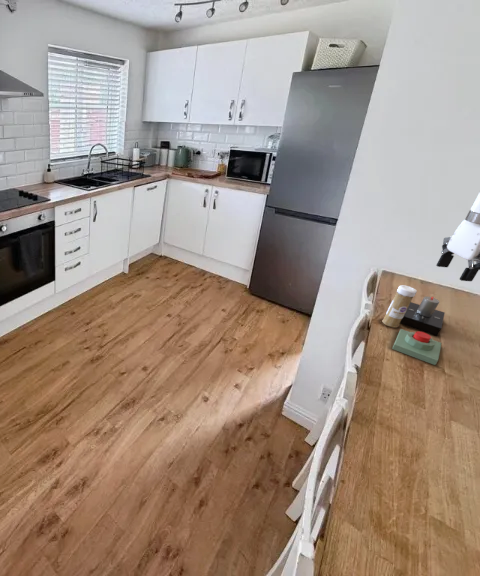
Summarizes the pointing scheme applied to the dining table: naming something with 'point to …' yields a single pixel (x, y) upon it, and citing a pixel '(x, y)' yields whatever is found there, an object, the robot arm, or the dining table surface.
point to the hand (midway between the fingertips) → (453, 273)
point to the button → (422, 337)
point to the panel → (423, 320)
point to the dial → (427, 306)
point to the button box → (417, 347)
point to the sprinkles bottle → (399, 306)
